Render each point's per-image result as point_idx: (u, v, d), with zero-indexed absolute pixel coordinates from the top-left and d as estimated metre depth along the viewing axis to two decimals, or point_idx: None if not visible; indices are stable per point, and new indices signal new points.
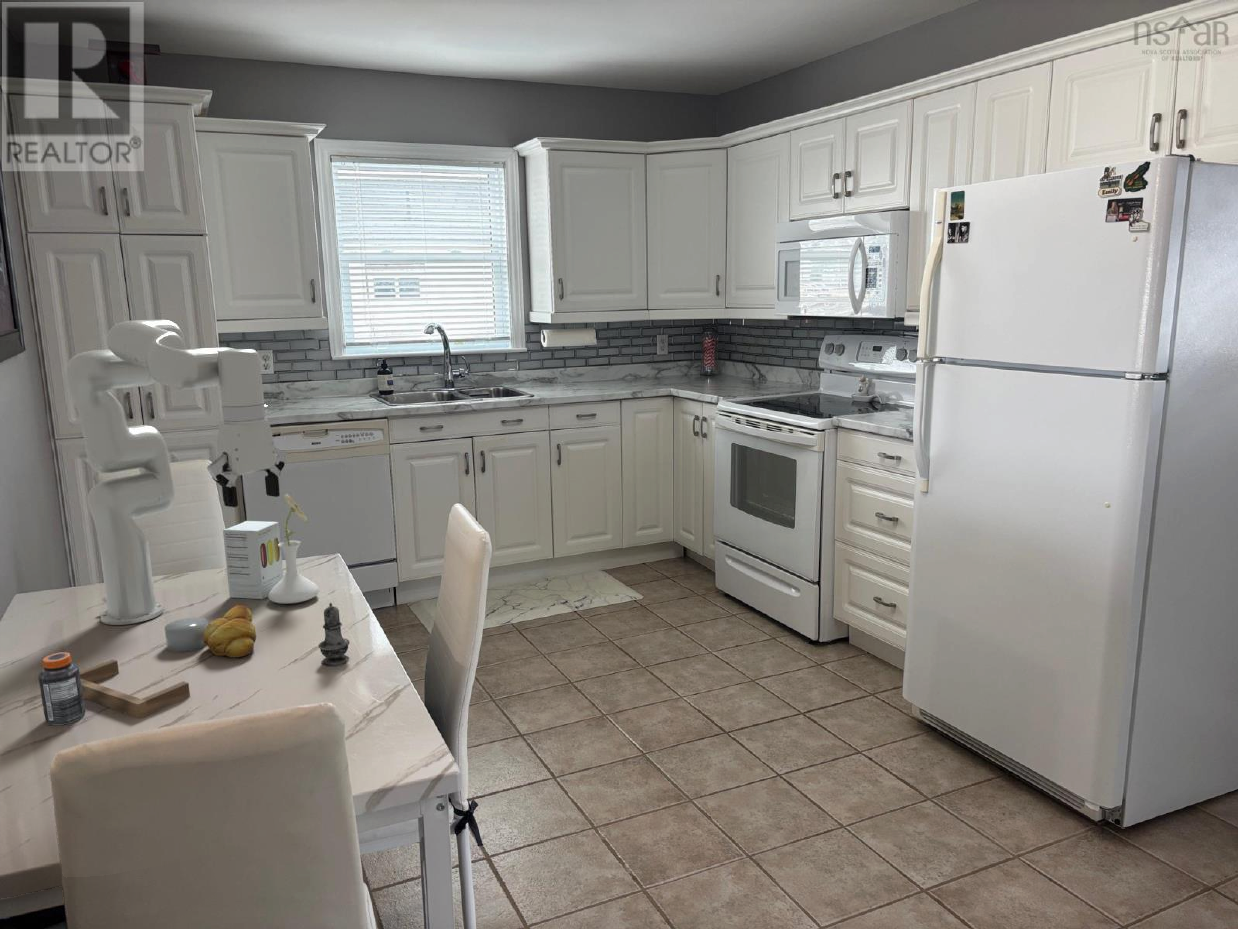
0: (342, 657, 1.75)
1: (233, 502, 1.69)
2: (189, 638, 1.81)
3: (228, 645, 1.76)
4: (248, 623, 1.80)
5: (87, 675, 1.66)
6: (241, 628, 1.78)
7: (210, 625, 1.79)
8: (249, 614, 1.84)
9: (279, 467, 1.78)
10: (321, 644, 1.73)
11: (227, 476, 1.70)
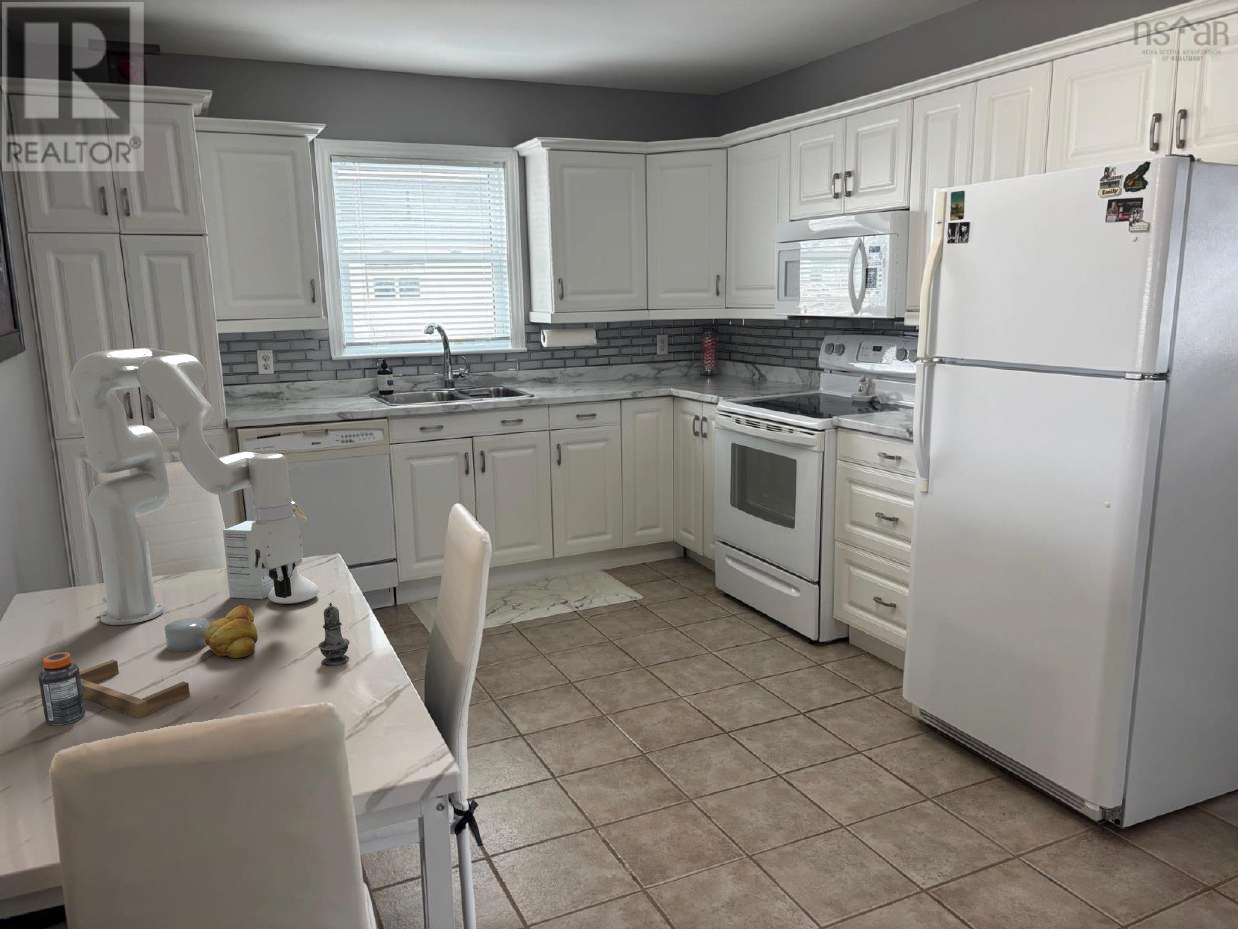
0: (342, 657, 1.75)
1: (283, 593, 1.89)
2: (189, 638, 1.81)
3: (229, 645, 1.76)
4: (249, 623, 1.80)
5: (87, 675, 1.66)
6: (242, 629, 1.77)
7: (212, 625, 1.79)
8: (251, 614, 1.84)
9: None
10: (321, 644, 1.73)
11: None
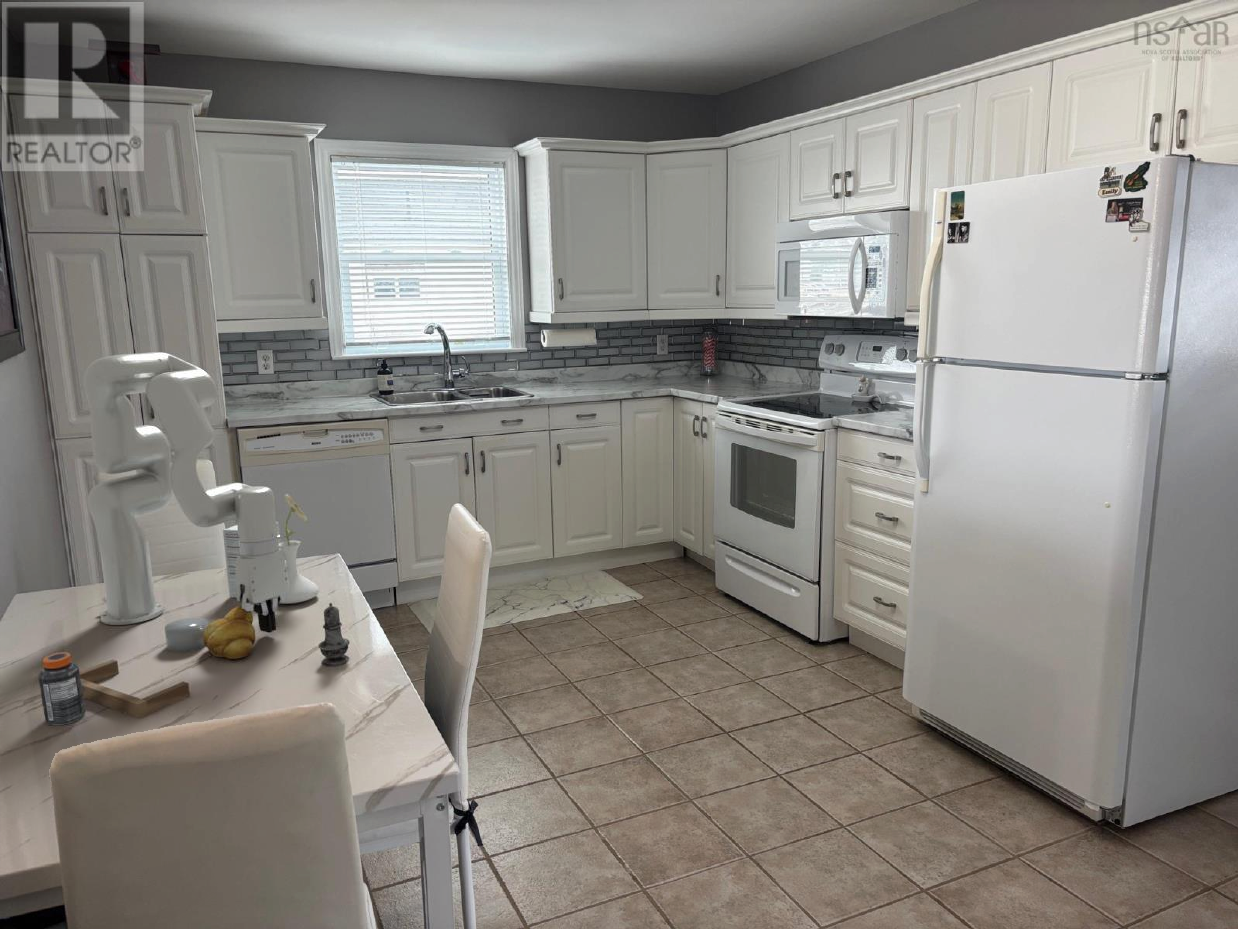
0: (342, 657, 1.75)
1: (268, 628, 1.87)
2: (189, 638, 1.81)
3: (226, 646, 1.75)
4: (247, 624, 1.79)
5: (87, 675, 1.66)
6: (239, 630, 1.76)
7: (210, 626, 1.79)
8: (250, 615, 1.83)
9: None
10: (321, 644, 1.73)
11: (257, 603, 1.86)
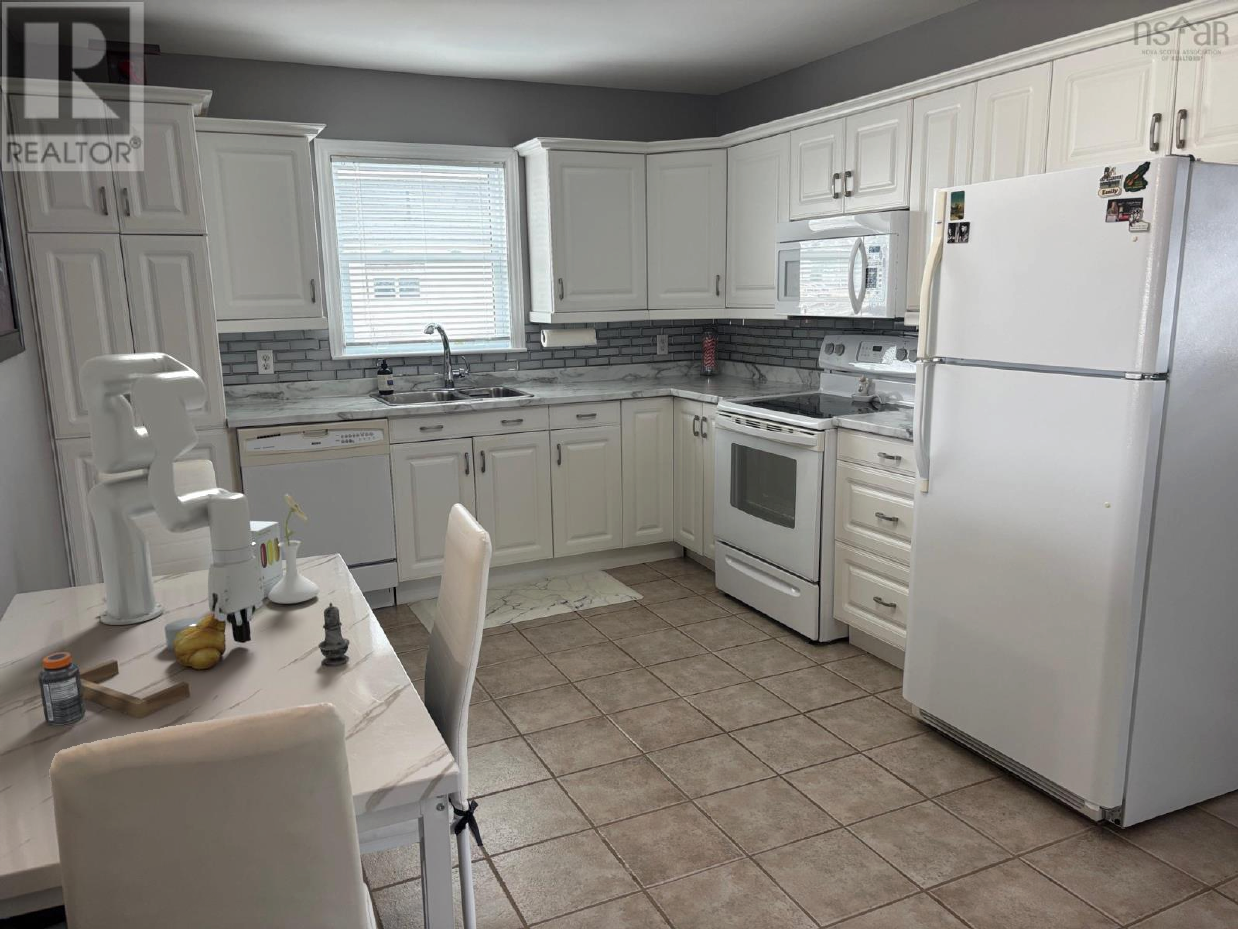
0: (342, 657, 1.75)
1: (242, 638, 1.81)
2: None
3: (191, 656, 1.71)
4: (216, 634, 1.74)
5: (87, 675, 1.66)
6: (206, 639, 1.72)
7: (179, 633, 1.75)
8: (222, 624, 1.79)
9: None
10: (321, 644, 1.73)
11: (231, 613, 1.81)
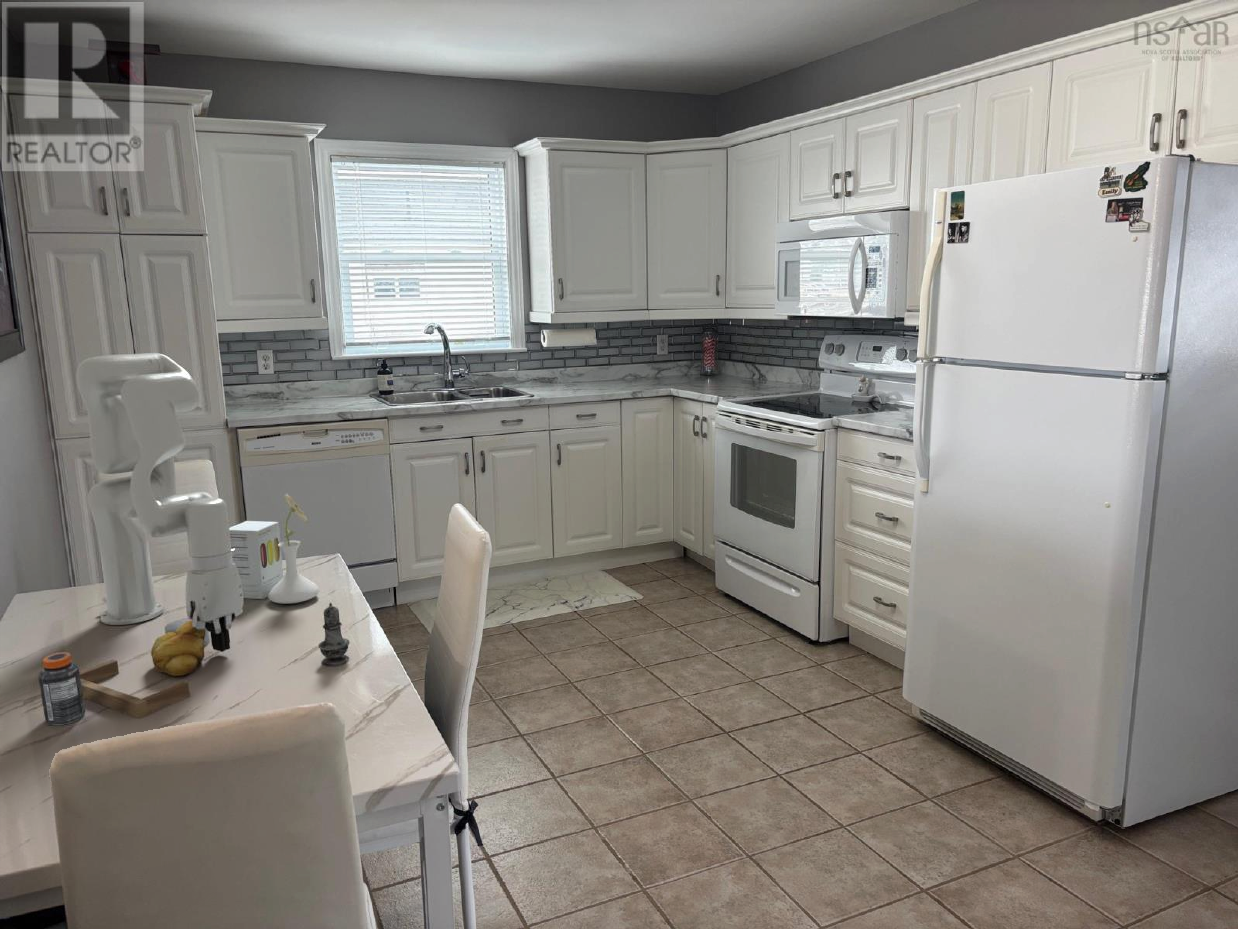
0: (342, 657, 1.75)
1: (221, 647, 1.77)
2: None
3: (167, 662, 1.68)
4: (193, 640, 1.71)
5: (87, 675, 1.66)
6: (182, 646, 1.69)
7: (157, 639, 1.72)
8: (201, 630, 1.76)
9: None
10: (321, 644, 1.73)
11: (210, 621, 1.77)
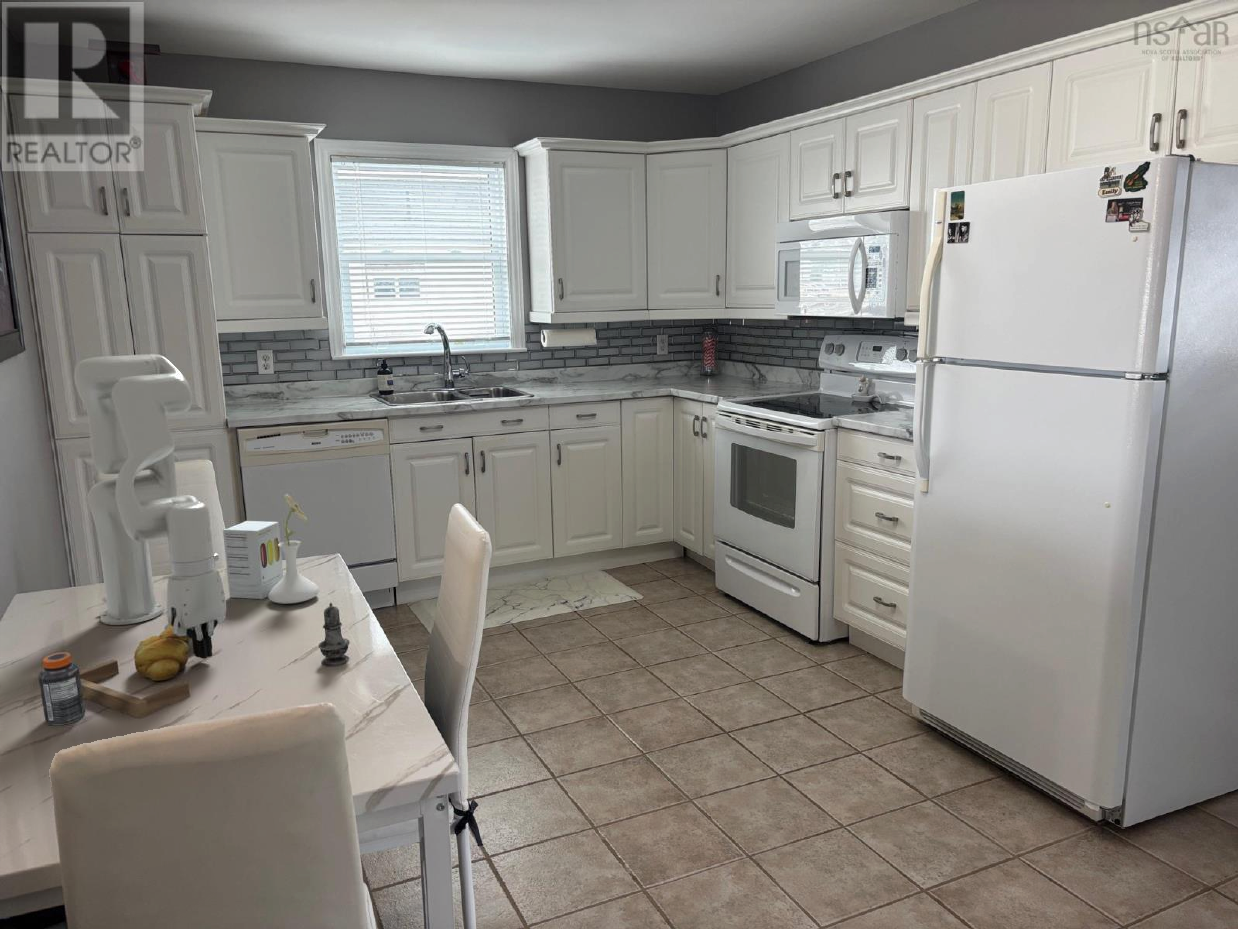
0: (342, 657, 1.75)
1: (203, 654, 1.74)
2: (189, 638, 1.81)
3: (148, 667, 1.66)
4: (176, 645, 1.69)
5: (87, 675, 1.66)
6: (164, 650, 1.67)
7: (141, 643, 1.70)
8: None
9: None
10: (321, 644, 1.73)
11: (191, 628, 1.73)
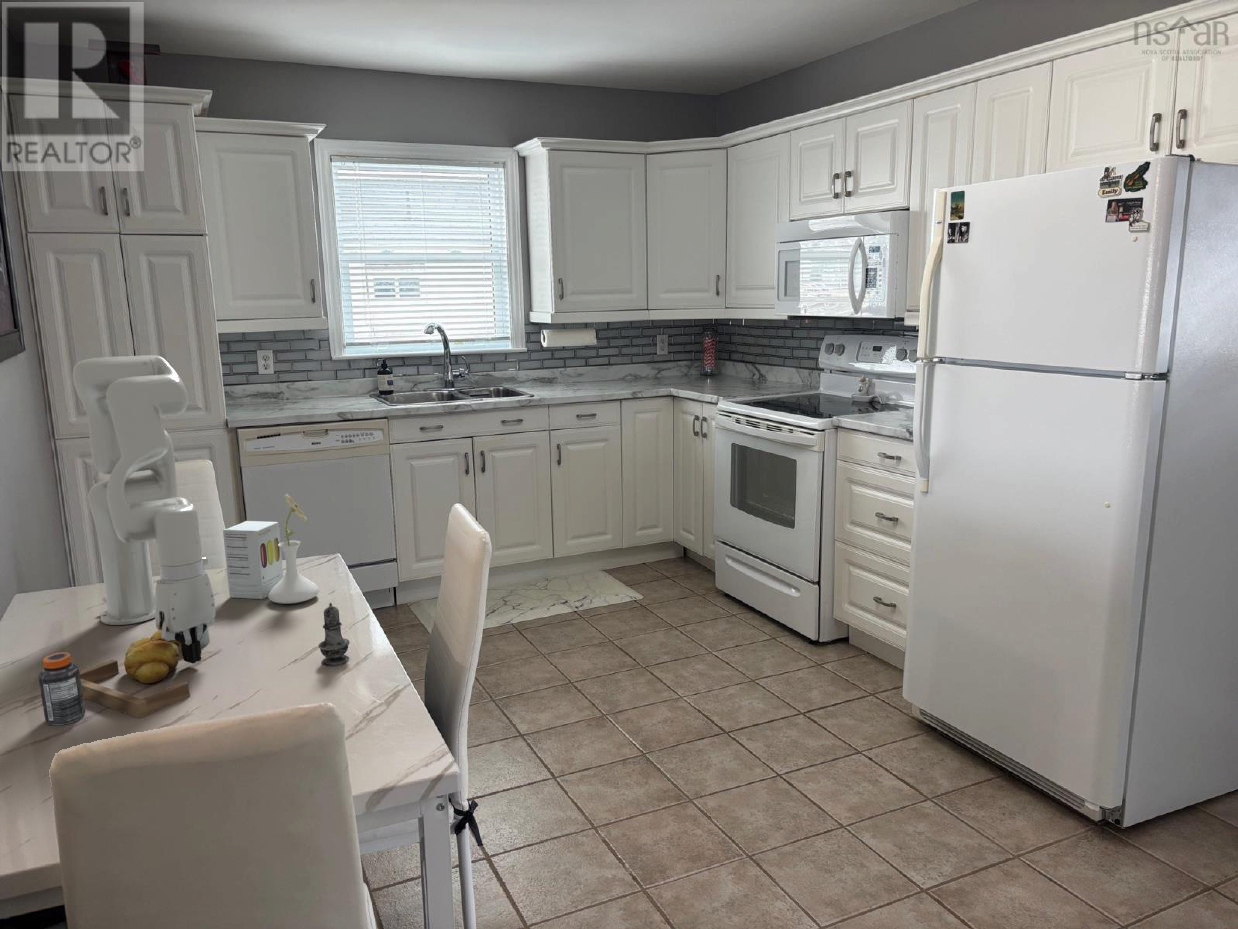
0: (342, 657, 1.75)
1: (192, 658, 1.72)
2: None
3: (137, 669, 1.65)
4: (165, 647, 1.68)
5: (87, 675, 1.66)
6: (153, 653, 1.66)
7: (131, 645, 1.70)
8: None
9: None
10: (321, 644, 1.73)
11: (180, 632, 1.71)
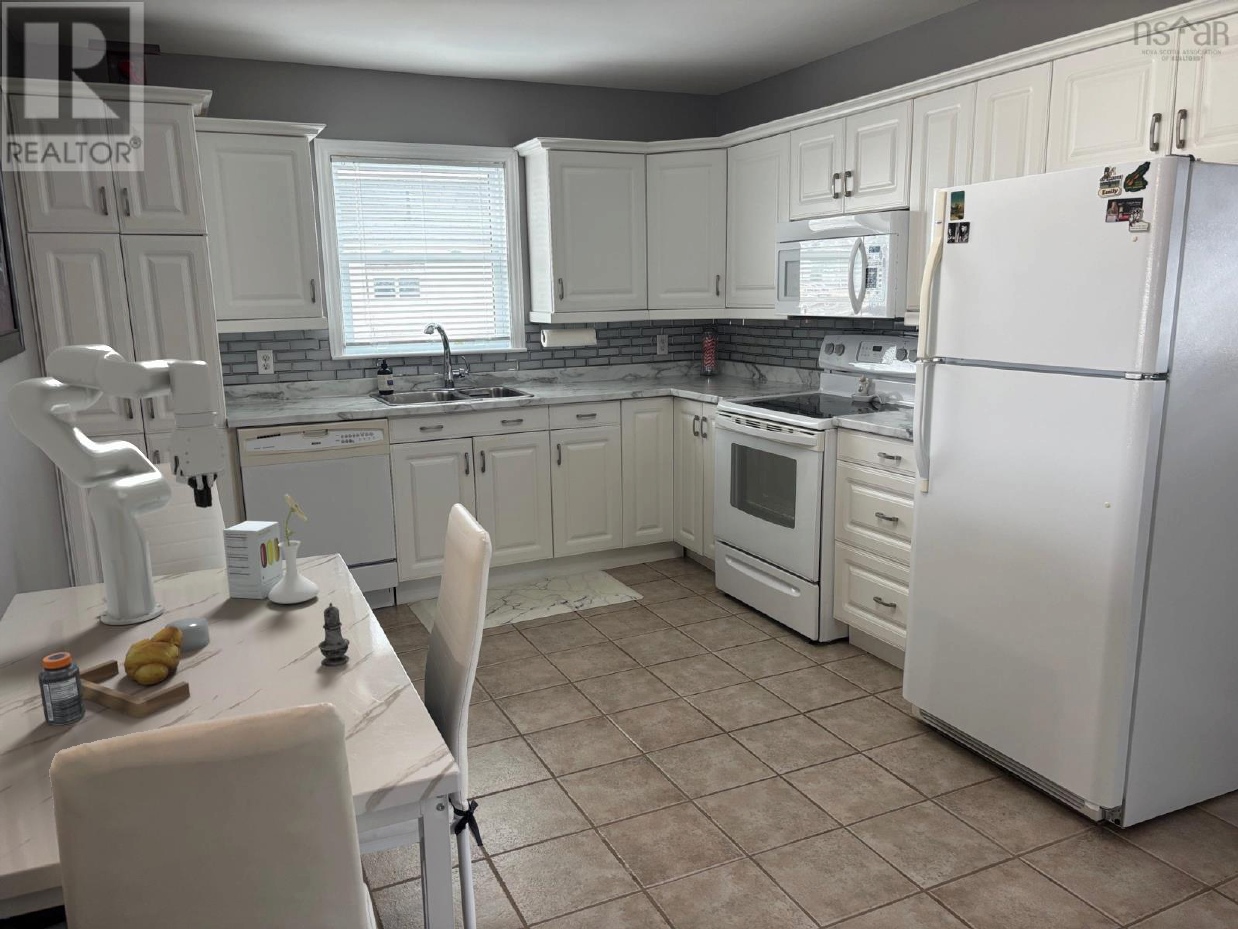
0: (342, 657, 1.75)
1: (203, 503, 1.87)
2: (189, 638, 1.81)
3: (136, 670, 1.65)
4: (165, 649, 1.68)
5: (87, 675, 1.66)
6: (152, 654, 1.65)
7: (132, 646, 1.69)
8: (177, 638, 1.72)
9: None
10: (321, 644, 1.73)
11: (193, 478, 1.87)
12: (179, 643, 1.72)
